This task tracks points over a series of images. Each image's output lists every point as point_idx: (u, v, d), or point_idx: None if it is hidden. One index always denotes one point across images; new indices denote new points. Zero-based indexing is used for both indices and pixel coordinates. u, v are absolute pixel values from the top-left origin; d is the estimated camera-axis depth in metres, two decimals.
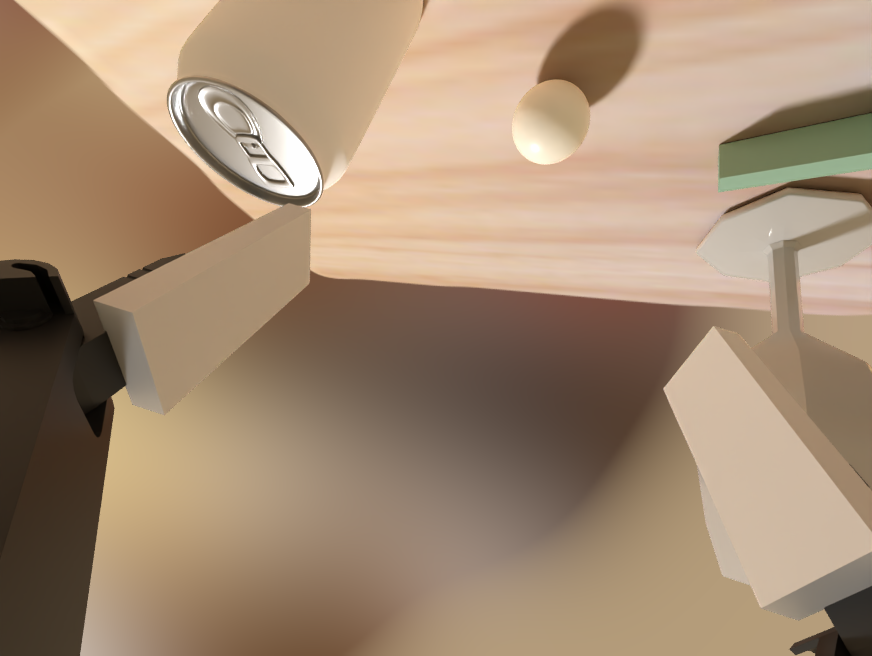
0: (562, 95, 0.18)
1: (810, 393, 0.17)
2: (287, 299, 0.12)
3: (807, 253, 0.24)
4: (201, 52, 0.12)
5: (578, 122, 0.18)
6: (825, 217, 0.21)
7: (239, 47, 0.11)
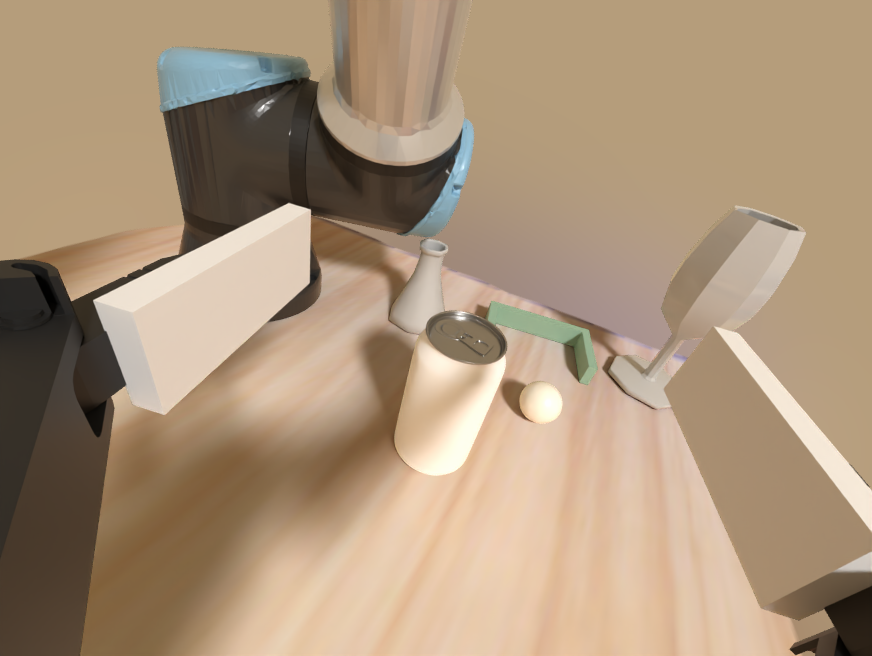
0: None
1: (668, 287, 0.38)
2: (287, 299, 0.12)
3: None
4: None
5: None
6: (624, 363, 0.46)
7: None
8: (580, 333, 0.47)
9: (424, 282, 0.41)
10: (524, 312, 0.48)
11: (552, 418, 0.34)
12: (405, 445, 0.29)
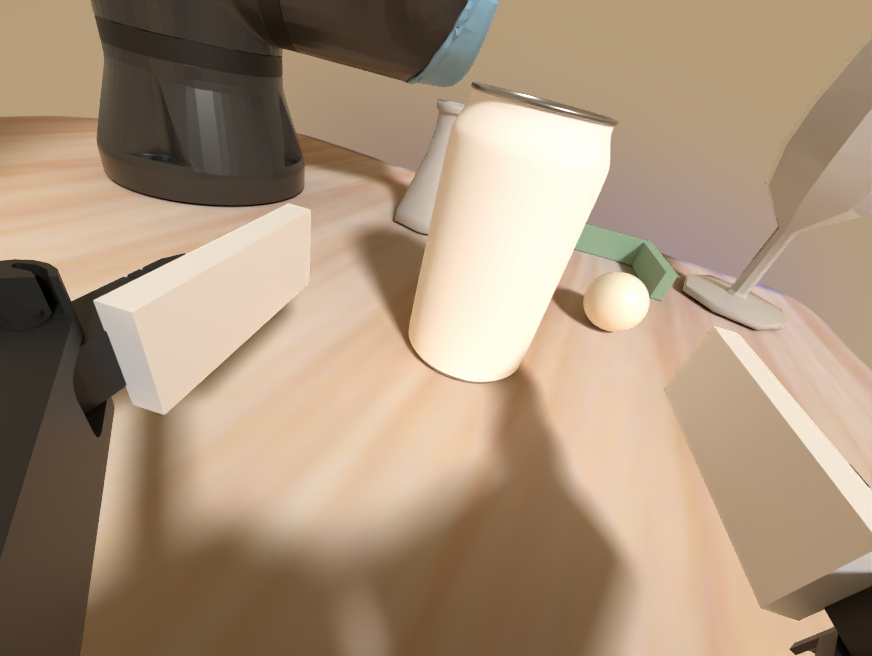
0: None
1: (783, 150, 0.28)
2: (287, 299, 0.12)
3: None
4: None
5: None
6: (701, 280, 0.35)
7: None
8: (641, 244, 0.36)
9: (443, 158, 0.30)
10: None
11: (637, 319, 0.24)
12: (429, 330, 0.18)
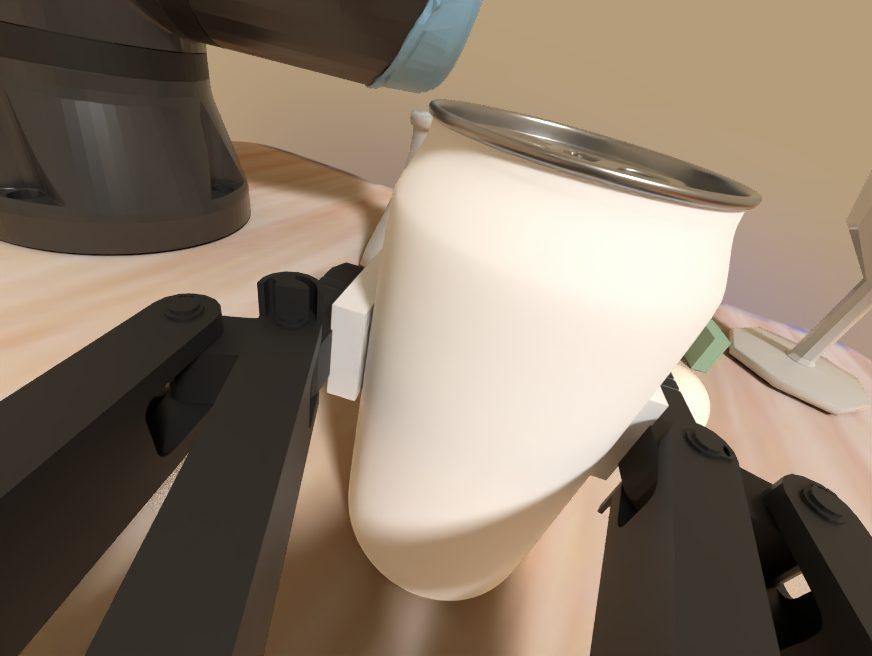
0: None
1: None
2: None
3: None
4: None
5: None
6: (752, 338, 0.28)
7: None
8: None
9: None
10: None
11: None
12: (369, 522, 0.10)
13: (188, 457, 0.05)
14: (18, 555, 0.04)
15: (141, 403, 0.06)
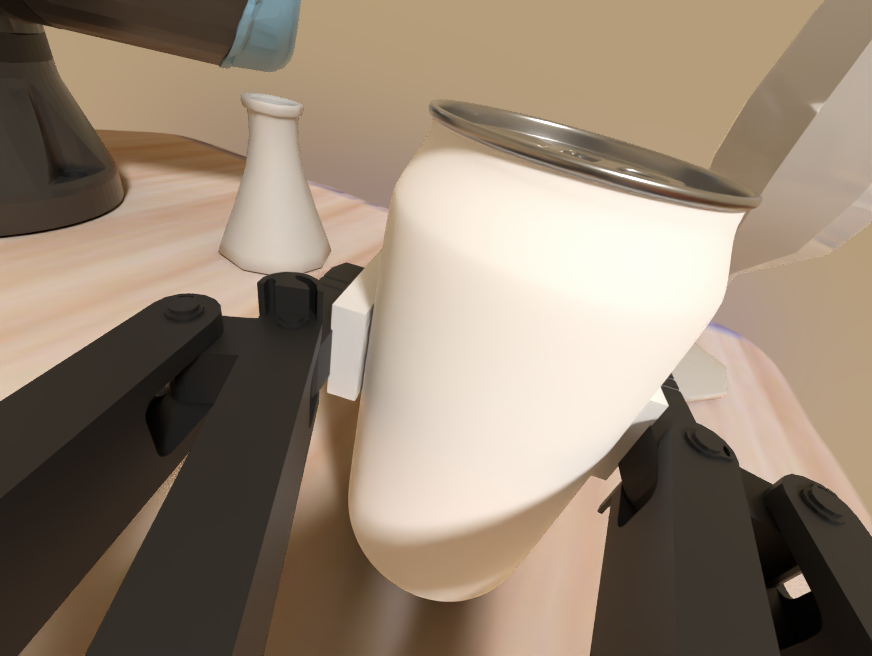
0: None
1: (711, 164, 0.20)
2: None
3: None
4: None
5: None
6: None
7: None
8: None
9: (262, 173, 0.23)
10: None
11: None
12: (369, 523, 0.10)
13: (188, 457, 0.05)
14: (19, 555, 0.04)
15: (141, 403, 0.06)
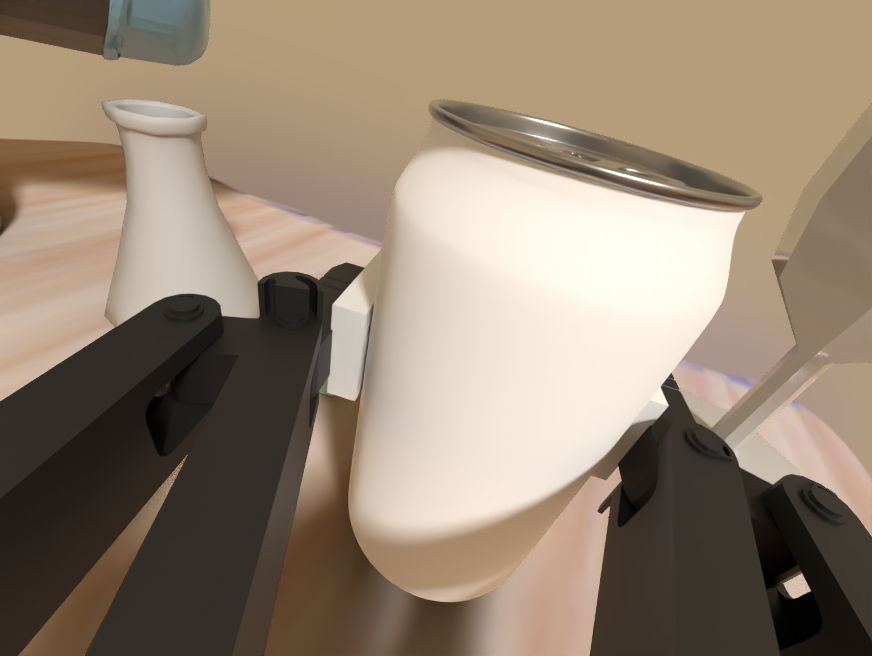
0: None
1: (813, 210, 0.13)
2: None
3: None
4: None
5: None
6: None
7: None
8: None
9: (148, 214, 0.16)
10: None
11: None
12: (369, 523, 0.10)
13: (188, 457, 0.05)
14: (18, 555, 0.04)
15: (141, 403, 0.06)
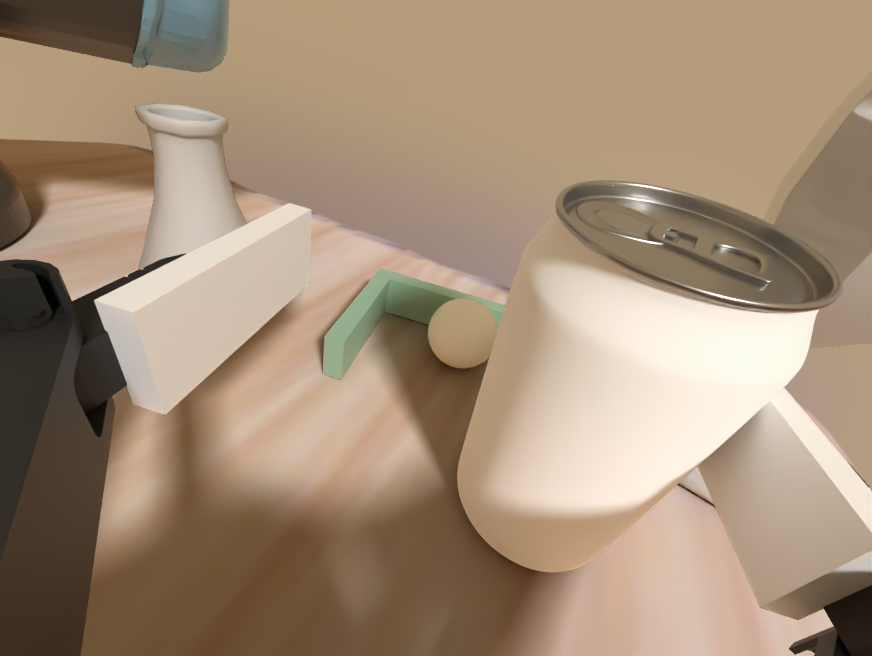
0: None
1: (782, 204, 0.14)
2: (287, 299, 0.12)
3: None
4: None
5: (467, 298, 0.21)
6: None
7: None
8: None
9: (173, 208, 0.17)
10: (444, 291, 0.24)
11: (475, 364, 0.20)
12: (487, 511, 0.13)
13: None
14: None
15: None
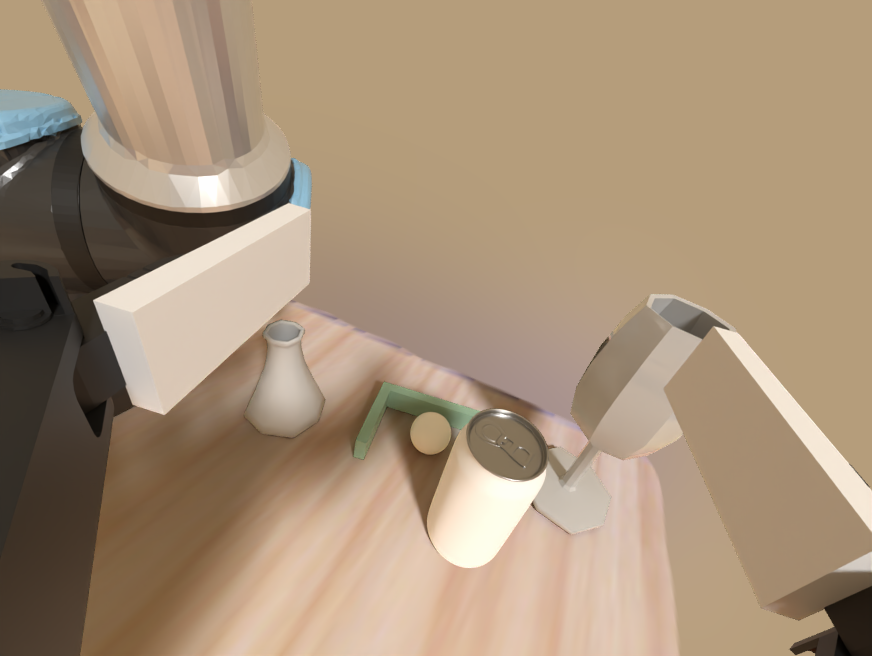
0: (418, 417, 0.36)
1: (576, 389, 0.30)
2: (287, 299, 0.12)
3: None
4: (466, 425, 0.26)
5: (431, 415, 0.36)
6: None
7: None
8: None
9: (276, 375, 0.33)
10: (422, 397, 0.39)
11: None
12: (438, 536, 0.28)
13: None
14: None
15: None
